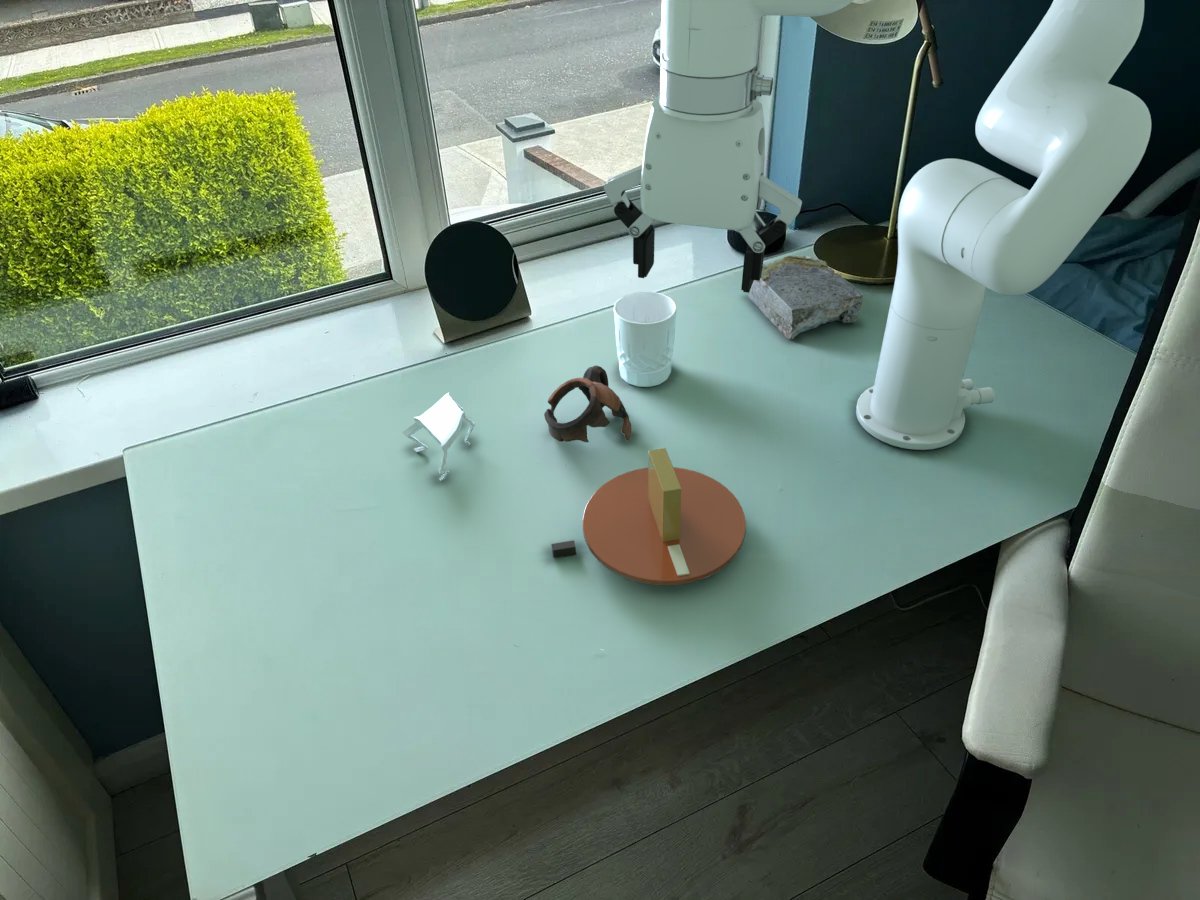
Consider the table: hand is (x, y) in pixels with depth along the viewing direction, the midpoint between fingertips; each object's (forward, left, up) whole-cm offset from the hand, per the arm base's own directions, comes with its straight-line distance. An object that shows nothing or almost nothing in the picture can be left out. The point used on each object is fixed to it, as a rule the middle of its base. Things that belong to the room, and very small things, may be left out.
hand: (696, 278), depth 83 cm
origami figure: (+26, -13, -27) cm, 40 cm away
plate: (+4, +6, -25) cm, 26 cm away
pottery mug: (+8, -14, -27) cm, 32 cm away
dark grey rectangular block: (+8, +6, -27) cm, 29 cm away
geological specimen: (-26, -34, -27) cm, 51 cm away
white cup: (-1, -24, -27) cm, 37 cm away
